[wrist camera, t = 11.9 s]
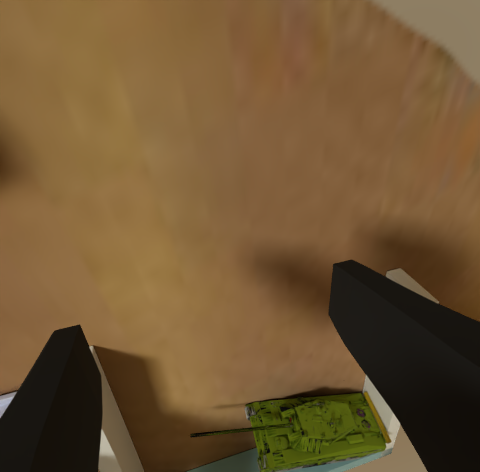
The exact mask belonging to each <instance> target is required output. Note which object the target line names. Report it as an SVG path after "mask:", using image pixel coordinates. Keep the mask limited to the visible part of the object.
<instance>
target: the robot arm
mask: <svg viewBox="0 0 480 472" xmlns="http://www.w3.org/2000/svg"><path fill="white" fill-rule="evenodd" d="M329 316H330V318H331V320H332V322H333V324H334V326H335V328H336V330H337V332H338V333H339V335H340V337H341V339H342V341H343V342H344V344H345V346H346V347H347V348H348V350H349V351H350V353H351V354H352V356H353V357H354V358H355V360H356V361H357V363H358V364H359V366H360V367H361V368H362V370H363V371H364V373H365V374H366V375H367V377H368V378H369V379H370V381H371V382H372V384H373V385H374V386H375V388H376V389H377V391H378V392H379V393H380V395H381V396H382V398H383V399H384V400H385V402H386V403H387V405H388V406H389V407H390V409H391V410H392V412H393V413H394V415H395V416H396V418H397V419H398V421H399V423H400V424H401V426H402V428H403V429H404V431H405V433H406V434H407V436H408V438H409V440H410V441H411V443H412V445H413V446H414V448H415V450H416V452H417V453H418V455H419V457H420V458H421V460H422V462H423V464H424V466H425V467H426V469H427V471H428V472H480V322H478V321H476V320H474V319H471V318H469V317H466V316H464V315H462V314H460V313H458V312H455V311H453V310H451V309H449V308H447V307H444V306H442V305H440V304H438V303H436V302H434V301H432V300H430V299H428V298H426V297H424V296H422V295H420V294H418V293H416V292H414V291H412V290H410V289H408V288H406V287H404V286H402V285H400V284H398V283H396V282H394V281H393V280H391V279H389V278H387V277H385V276H383V275H381V274H379V273H377V272H375V271H374V270H372V269H370V268H368V267H366V266H364V265H362V264H360V263H358V262H356V261H354V260H348V261H344V262H340V263H335V264H333V273H332V283H331V293H330V303H329ZM102 416H103V406H102V379H101V374H100V371H99V369H98V366H97V364H96V362H95V359H94V357H93V354H92V352H91V350H90V347H89V345H88V343H87V340H86V338H85V335H84V333H83V331H82V328H81V326H80V325H76V326H72V327H68V328H63V329H59V330H55V331H54V332H53V334H52V335H51V337H50V338H49V340H48V342H47V343H46V345H45V347H44V348H43V350H42V352H41V353H40V355H39V357H38V359H37V360H36V362H35V364H34V365H33V367H32V369H31V370H30V372H29V374H28V375H27V377H26V379H25V380H24V382H23V383H22V385H21V387H20V388H19V390H18V391H17V392H13V393H10V394H6V395H2V396H0V472H98V465H99V454H100V442H101V430H102Z"/></svg>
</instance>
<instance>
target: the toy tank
mask: <svg viewBox="0 0 480 472" xmlns="http://www.w3.org/2000/svg"><path fill="white" fill-rule="evenodd" d="M344 381H345V380H344ZM363 394H364V395H365V396H364V397H363V396H362V394H361V393H354V394H342V395H330V396H319V397H304V398H302V397H301V396H299V397H298V398H295V399H283V400H277V399H276V400H272V401H263V402H261V401H260V402H254V403H249V404H247V405H245V406H246V407H245V413H246V418H247V420H250V421H251V425H252V428H243V429H233V430H223V431H214V432H204V433H205V434H206V435H202V434H204V433H194V434H190V435H191V436H190V437H200V436H209V435H218V434H228V433H237V432H246V431H253V433H254V438H255V442H256V446H257V451H258V455H259V457H257V465H258V469H259V472H284V471H290V470H296V469H302V468H307V467H313V466H319V465H325V464H331V463H337V462H343V461H349V460H355V459H359V458H362V457H365V456H369V455H372V454H375V453H378V452H382V451H384V450H385V448H387V447H386V443H387V444H389V443H391V442H392V441H391V439H390V437H389V435H388V433H387V431H386V429H385V427H384V425H383V423H382V421H381V419H380V417H379V415H378V413H377V411H376V409H375V407H374V405H373V403H372V401H371V399H370V397H369V395H368V393H367V392H364V393H363ZM369 406H370V408H371V410H372V412H371V410H370V408H369ZM248 407H249V409H248ZM372 413H373V414H372ZM373 415H374V416H373ZM374 417H375V418H374ZM375 419H376V420H375ZM376 421H377V422H376ZM377 423H378V424H377ZM378 425H379V427H380V429H379V427H378ZM247 429H249V430H247ZM251 429H253V430H251ZM238 430H239V431H238ZM241 430H244V431H241ZM380 430H381V431H380ZM228 431H231V432H228ZM232 431H234V432H232ZM218 432H220V433H218ZM221 432H222V433H221ZM223 432H225V433H223ZM381 432H382V433H381ZM209 433H210V434H209ZM211 433H213V434H211ZM214 433H215V434H214ZM380 433H381V434H380ZM199 434H200V435H199ZM192 435H195V436H192ZM188 436H189V435H188ZM380 449H381V450H380Z"/></svg>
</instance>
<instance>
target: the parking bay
mask: <svg viewBox="0 0 480 472" xmlns="http://www.w3.org/2000/svg"><path fill="white" fill-rule="evenodd" d="M386 277H387V278H389V279H391V280H393V281H394V282H396V283H398V284H400V285H402V286H404V287H406V288H408V289H410V290H412V291H414V292H416V293H418V294H420V295H422V296H424V297H426V298H428V299H430V300H432V301H434V302H436V303H438V304H439V301H438V300H437V299H435V298H434V297H433V296H432V295H431V294H430V293H429V292H427V291H426V290H425V289H424V288H423V287H422V286H421V285H419V284H418V283H417V282H416V281H415V280H414V279H413V278H411V277H410V276H409V275H408V274H407V273H406V272H405V271H403V270H402V269H401V268H399V269H395V270H391V271H387V274H386ZM89 347H90V350H91V352H92V354H93V357H94V359H95V362H96V364H97V366H98V369H99V371H100V374H101V379H102V406H103V416H102V430H101V442H100V454H99V465H98V468H99V470H100V472H145V471H144V469H143V466H142V464H141V462H140V459H139V457H138V454H137V452H136V449H135V447H134V445H133V442H132V440H131V437H130V435H129V432H128V430H127V427H126V425H125V423H124V420H123V418H122V415H121V413H120V410H119V408H118V406H117V403H116V401H115V398H114V396H113V393H112V391H111V388H110V386H109V384H108V381H107V379H106V376H105V374H104V371H103V369H102V367H101V364H100V362H99V359H98V357H97V354H96V352H95V350H94V347H93V346H89ZM364 392H367V393H368V395H369V397H370V399H371V401H372V403H373V405H374V407H375V409H376V411H377V413H378V415H379V417H380V419H381V421H382V423H383V425H384V427H385V429H386V431H387V433H388V435H389V437H390V439H391V441H392V442H391V443H389V444H387V443H386V447H387V448H385V450H384V451H382V452H378V453H375V454H372V455H369V456H365V457H362V458H359V459H355V460H349V461H343V462H337V463H331V464H325V465H319V466H313V467H307V468H302V469H296V470H290V471H284V472H343V471H346V470H349V469H351V468H354V467H357V466H359V465H362V464H365V463H367V462H370V461H372V460H375V459H378V458H381V457H383V456H386V455H389V454H391V452H392V449H393V446H394V443H395V439H396V436H397V433H398V430H399V427H400V423H399V421H398V419H397V418H396V416H395V415H394V413H393V412H392V410H391V409H390V407H389V406H388V405H387V403H386V402H385V400H384V399H383V398H382V396H381V395H380V393H379V392H378V391H377V389H376V388H375V386H374V385H373V384H372V382H371V381H370V379H369V378H368V377H367V375H366V378H365V383H364V388H363V393H364ZM363 393H362V396H363V397H364V396H365V395H364V394H363ZM369 408H370V406H369ZM370 410H371V408H370ZM371 412H372V410H371ZM372 414H373V413H372ZM373 416H374V415H373ZM374 418H375V417H374ZM375 420H376V419H375ZM376 422H377V421H376ZM377 424H378V423H377ZM378 427H379V425H378ZM379 429H380V427H379ZM380 431H381V430H380ZM381 433H382V432H381ZM381 433H380V434H381ZM380 450H381V449H380ZM257 457H259V455H258V451H257V448H254V449H251V450H248V451H245V452H242V453H239V454H236V455H233V456H230V457H228V458H225V459H222V460H219V461H216V462H213V463H210V464H207V465H204V466H201V467H198V468H195V469H192V470H189V471H186V472H259V469H258V465H257Z"/></svg>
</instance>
